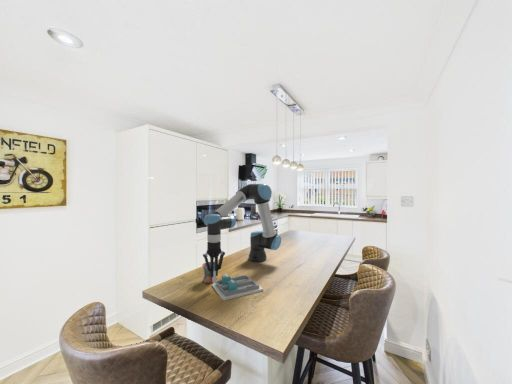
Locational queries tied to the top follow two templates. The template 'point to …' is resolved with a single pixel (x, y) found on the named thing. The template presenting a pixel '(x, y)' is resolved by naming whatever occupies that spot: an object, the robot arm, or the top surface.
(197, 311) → the top surface
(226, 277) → the tab
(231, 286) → the tab
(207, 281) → the mug
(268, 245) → the robot arm
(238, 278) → the switch board
